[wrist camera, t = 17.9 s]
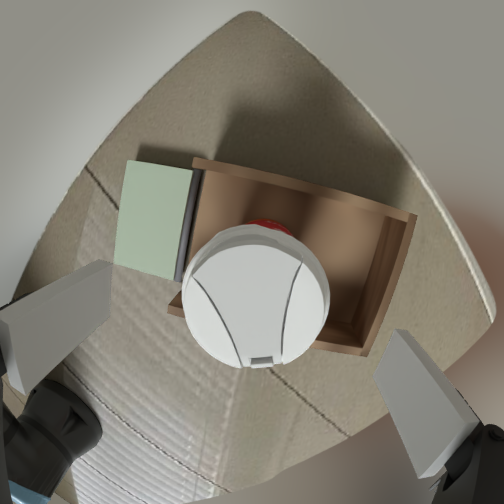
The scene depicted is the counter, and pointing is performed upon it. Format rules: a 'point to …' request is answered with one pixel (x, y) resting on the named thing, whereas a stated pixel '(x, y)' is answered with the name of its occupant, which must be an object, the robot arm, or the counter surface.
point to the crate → (315, 242)
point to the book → (155, 218)
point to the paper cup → (255, 295)
